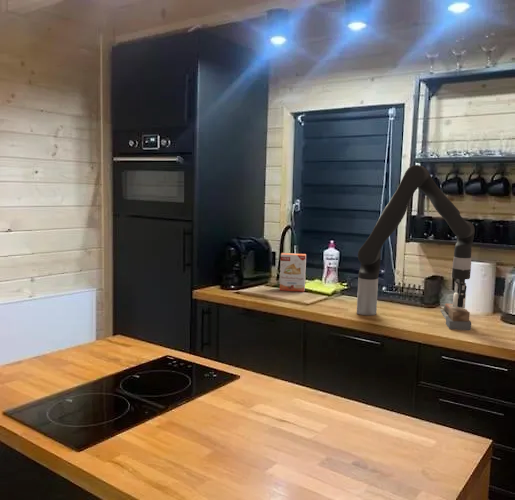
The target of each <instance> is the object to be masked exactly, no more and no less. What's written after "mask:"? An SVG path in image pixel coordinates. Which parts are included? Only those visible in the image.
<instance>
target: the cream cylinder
mask: <svg viewBox="0 0 515 500" xmlns="http://www.w3.org/2000/svg"><path fill="white" fill-rule="evenodd" d="M461 295H463V294H462V293H461ZM466 296H467V293H466V294H465V298H464V299H463V307H458V306H457V303H458V293H457V292H455V293H454V292H453V296H452V297H453V298H452V304H453V307H455V308H462V309H466V300H467V299H466V298H467V297H466Z"/></svg>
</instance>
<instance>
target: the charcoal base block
mask: <svg viewBox="0 0 515 500" xmlns="http://www.w3.org/2000/svg"><path fill="white" fill-rule="evenodd" d="M445 325H446V327H447V328H448V330H455V329H457V331H471V330H472V321H471V320H470V319H469V322H467V321H452V320H451V319H450V318H449V317H448V316H446V319H445Z"/></svg>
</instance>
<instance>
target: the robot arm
mask: <svg viewBox="0 0 515 500" xmlns="http://www.w3.org/2000/svg"><path fill="white" fill-rule="evenodd" d="M417 189H419V190H420V191H421V192H423V193H424V195H426V197H427V199H429V201H430V203H431V204H432V205H433V208H434V209H435V211H437V213H438V214H439V215H440V217H441V218H442V219H443V220H445V222H446V223H447V225H448V226H449V228H450V230H451V231H452V233H453V235H455V236H456V237H457V241H456V243H455V246H454V251H453V260H452V268H451V269H452V270H451V271H452V272H451V278H453V279H454V291H453V294H454V293H455V292H457V293H458V303H457V306H458V307H463V299H464V298H465V294H466V295H467V283H466V280H470V278H471V273H472V272H471V270H472V253H473V252H472V251H473V250H472V247H473V242H474V237H475V226H474V224H473V222H471V221H468V220H467V221H466V220H465V219H464V218H463V216H461V212H460V210H459V209H458V208H457V207H456V205H454V204H453V202H452V201H451V200H450V199H449V197H447V196H446V194H444V192H443V191H442V190H441V189H440V188H439V186H438V185H437V184H436V182H435V181H434V179H433V177H432V176H431V174H430V173H429V171H428V168H426V167H424V166H423V165H418V164H413V165H411V166H409V167H408V168H407V169H406V171H405V173H404V175H403V176H402V179H401V180H400V183H399V185H398V187H397V189H396V191H395V192H394V194H393V195H392V197H391V198H390V200H389V202H388V203H387V205H386V206H385V207H384V209H383V210H382V213H380V215H379V218H378V220H377V221H376V224H375V225H374V227H373V229H372V232H371V233H370V235H369V236H368V238H367V239H366V240H365V242H364V243H363V245H361V247H360V248H359V250H358V253H357V259H358V261H359V263H360V268H359V271H358V274H357V275H358V276H357V278H358V281H357V294H356V295H357V296H356V297H357V299H356V314H357V315H362V316H375V315H377V308H378V287H379V274H380V270H381V267H380V266H381V249H382V247H383V245H384V244H385V242H386V241H387V240H388V239H389V238H390V237H391V235H392V234H393V233H394V232H395V231H396V229H397V228H398V226H400V223H401V222H402V220H403V218H404V217H405V215H406V213H407V209H408V206H409V204H410V200H411V198H412V197H413V195H414V193H415V192H416V191H417ZM461 293H462V294H463V295H461Z"/></svg>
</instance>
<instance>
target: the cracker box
mask: <svg viewBox="0 0 515 500" xmlns="http://www.w3.org/2000/svg"><path fill="white" fill-rule="evenodd" d="M306 266H307V254H306V253H292V252H291V253H289V252H281V253H280V266H279V268H280V270H279V271H280V272H279V291H287V292H288V291H289V292H300V293H301V292H302V293H304V292H305V290H306V270H307V269H306V268H307V267H306Z"/></svg>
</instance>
